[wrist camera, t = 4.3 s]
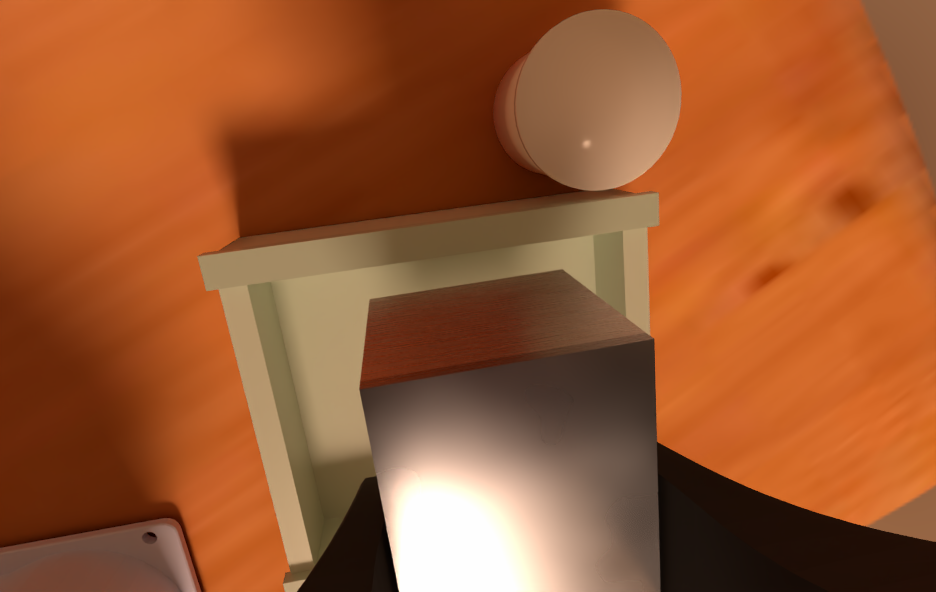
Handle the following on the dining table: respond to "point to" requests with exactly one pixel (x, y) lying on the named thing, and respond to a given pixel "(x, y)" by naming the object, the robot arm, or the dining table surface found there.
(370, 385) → the tea tin
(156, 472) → the dining table surface
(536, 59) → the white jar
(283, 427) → the tote
